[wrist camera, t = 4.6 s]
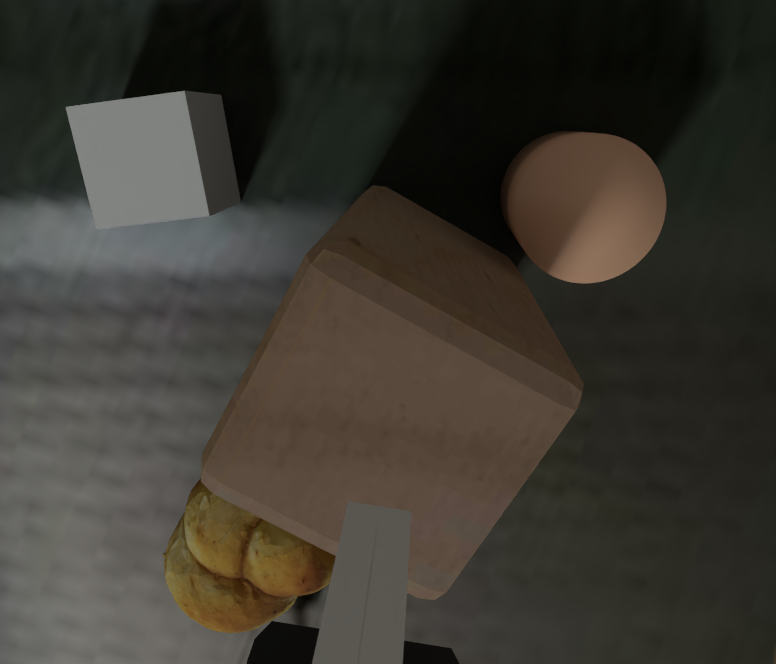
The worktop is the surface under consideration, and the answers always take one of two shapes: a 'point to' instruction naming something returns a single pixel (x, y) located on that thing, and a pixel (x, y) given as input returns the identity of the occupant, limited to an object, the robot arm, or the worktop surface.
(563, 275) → the peach round cylinder
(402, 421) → the wooden block
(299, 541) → the bread roll
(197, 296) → the worktop surface
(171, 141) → the grey plastic cube
